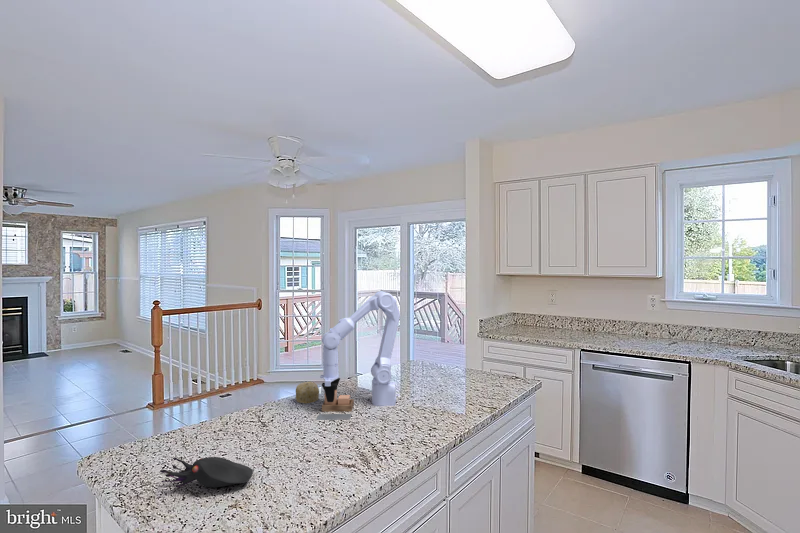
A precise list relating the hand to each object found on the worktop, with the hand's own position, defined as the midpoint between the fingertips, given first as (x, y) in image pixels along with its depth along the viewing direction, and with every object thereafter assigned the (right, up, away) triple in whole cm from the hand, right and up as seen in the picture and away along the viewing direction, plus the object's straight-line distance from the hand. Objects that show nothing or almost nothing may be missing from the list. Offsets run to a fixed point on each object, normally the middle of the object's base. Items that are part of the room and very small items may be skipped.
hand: (331, 399), depth 160 cm
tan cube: (0, -1, 0) cm, 1 cm away
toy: (-23, -6, -52) cm, 57 cm away
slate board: (+2, -4, -9) cm, 10 cm away
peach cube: (+5, -3, 0) cm, 6 cm away
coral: (-11, -4, +10) cm, 16 cm away
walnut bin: (+3, -4, 0) cm, 5 cm away
